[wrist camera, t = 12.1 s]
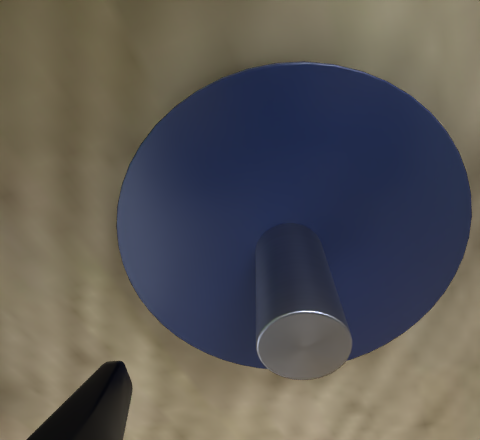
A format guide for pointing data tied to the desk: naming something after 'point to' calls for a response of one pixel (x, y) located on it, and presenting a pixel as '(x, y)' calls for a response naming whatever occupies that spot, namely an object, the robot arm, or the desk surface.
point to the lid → (294, 217)
